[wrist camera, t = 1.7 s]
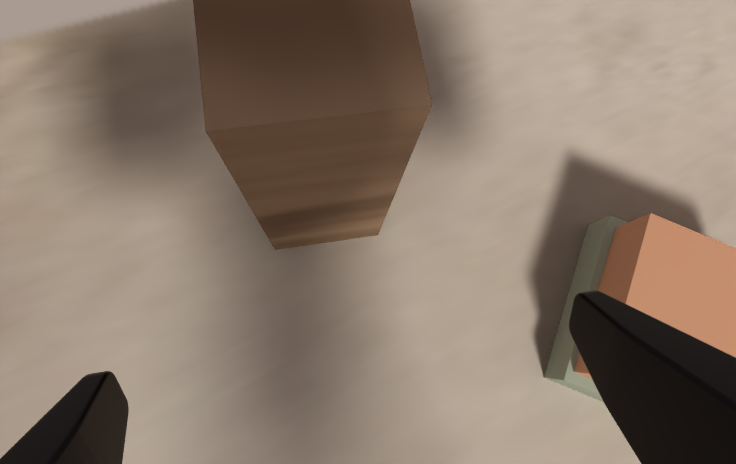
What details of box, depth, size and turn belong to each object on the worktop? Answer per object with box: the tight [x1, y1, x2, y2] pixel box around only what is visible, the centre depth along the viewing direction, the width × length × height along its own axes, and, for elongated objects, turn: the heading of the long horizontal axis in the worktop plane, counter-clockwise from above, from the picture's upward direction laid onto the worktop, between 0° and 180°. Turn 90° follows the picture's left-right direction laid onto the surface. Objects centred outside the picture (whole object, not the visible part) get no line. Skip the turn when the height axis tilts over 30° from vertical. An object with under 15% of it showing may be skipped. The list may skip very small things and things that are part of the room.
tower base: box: [544, 215, 627, 402], centre depth 23 cm, size 8×8×2 cm
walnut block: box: [193, 0, 432, 250], centre depth 17 cm, size 5×5×13 cm
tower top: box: [574, 213, 736, 379], centre depth 20 cm, size 7×7×2 cm
